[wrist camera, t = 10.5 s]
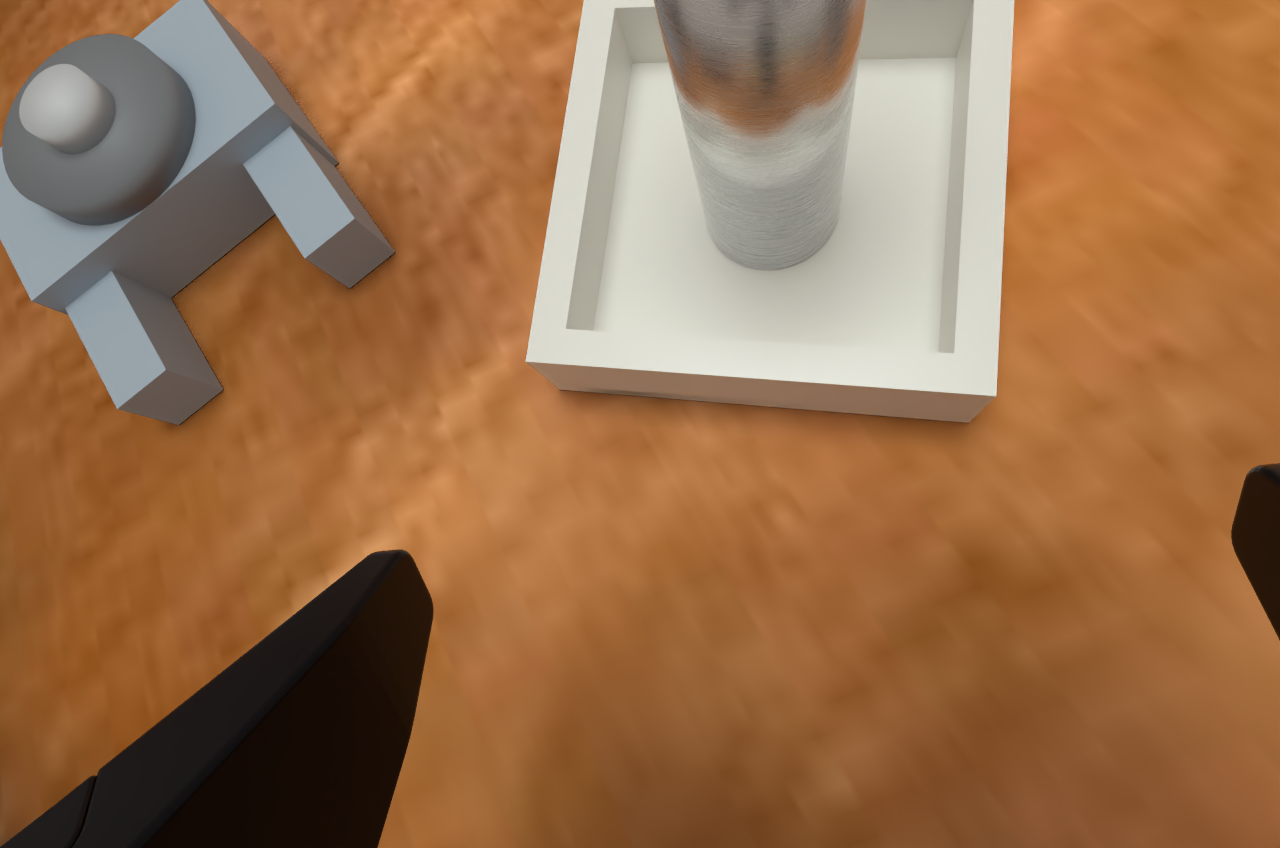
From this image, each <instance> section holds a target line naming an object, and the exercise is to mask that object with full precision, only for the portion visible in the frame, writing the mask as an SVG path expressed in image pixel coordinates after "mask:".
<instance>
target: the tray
mask: <svg viewBox="0 0 1280 848" xmlns="http://www.w3.org/2000/svg"><path fill="white" fill-rule="evenodd" d="M1013 18H1014V0H866V8H865V16H864V23H863V31H862V39H861V47H860V55H859V63H858V71H857V79H856V86H855V94H854V102H853V110H852V118H851V126H850V134H849V141H848V149H847V157H846V165H845V173H844V181H843V189H842V197H841V204H840V212H839V217H838V222H837V224H836V227H835V230H834V232H833V233H832V235H831V237H830V239H829V240H828V241H827V243H826V244H825V245H824V246H823V247H822V248H821V250H819V251H818V252H817V253H816V254H815V255H814V256H812V257H811V258H809V259H808V260H806V261H804V262H802V263H800V264H798V265H795V266H793V267H790V268H786V269H781V270H772V271H767V270H756V269H751V268H748V267H745V266H742V265H740V264H737V263H736V262H734V261H732V260H731V259H729V258H728V257H727V256H725V255H724V254H723V253H722V252H721V251H720V250H719V249H718V247H717V246H716V245H715V243H714V242H713V240H712V238H711V236H710V234H709V231H708V228H707V224H706V220H705V216H704V212H703V207H702V203H701V199H700V195H699V190H698V186H697V182H696V178H695V173H694V169H693V165H692V161H691V156H690V152H689V148H688V144H687V139H686V135H685V131H684V127H683V123H682V118H681V114H680V110H679V106H678V101H677V97H676V93H675V89H674V84H673V80H672V76H671V72H670V67H669V63H668V59H667V55H666V50H665V46H664V42H663V38H662V33H661V29H660V25H659V21H658V16H657V12H656V8H655V4H654V0H584V4H583V10H582V16H581V22H580V28H579V35H578V41H577V47H576V53H575V59H574V66H573V72H572V78H571V84H570V90H569V97H568V103H567V109H566V115H565V121H564V128H563V134H562V140H561V146H560V152H559V158H558V165H557V171H556V177H555V183H554V189H553V196H552V202H551V208H550V214H549V220H548V227H547V233H546V239H545V245H544V251H543V258H542V264H541V270H540V276H539V282H538V289H537V295H536V301H535V307H534V313H533V319H532V326H531V332H530V338H529V344H528V350H527V357H526V362H527V363H528V364H529V365H530V366H532V367H533V368H534V369H535V370H536V371H538V372H539V373H540V374H541V375H542V376H544V377H545V378H546V379H547V380H548V381H550V382H551V383H552V384H553V385H554V386H556V387H557V388H558V389H559V390H570V391H582V392H595V393H607V394H619V395H632V396H644V397H656V398H669V399H681V400H693V401H706V402H718V403H730V404H743V405H755V406H767V407H780V408H792V409H804V410H817V411H829V412H841V413H854V414H866V415H878V416H891V417H903V418H915V419H928V420H940V421H952V422H965V423H969V422H970V421H971V420H972V419H973V418H974V417H976V416H977V415H978V414H979V413H980V412H981V411H982V410H983V409H984V408H985V407H986V406H987V405H988V404H989V403H990V402H991V401H992V400H993V399H994V398H995V397H996V392H997V370H998V348H999V326H1000V304H1001V282H1002V260H1003V238H1004V216H1005V194H1006V172H1007V150H1008V128H1009V106H1010V84H1011V62H1012V40H1013Z"/></svg>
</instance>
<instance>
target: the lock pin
mask: <svg viewBox="0 0 1280 848" xmlns="http://www.w3.org/2000/svg"><path fill="white" fill-rule="evenodd" d="M654 4H655V8H656V12H657V16H658V21H659V25H660V29H661V33H662V38H663V42H664V46H665V50H666V55H667V59H668V63H669V67H670V72H671V76H672V80H673V84H674V89H675V93H676V97H677V101H678V106H679V110H680V114H681V118H682V123H683V127H684V131H685V135H686V139H687V144H688V148H689V152H690V156H691V161H692V165H693V169H694V173H695V178H696V182H697V186H698V190H699V195H700V199H701V203H702V207H703V212H704V216H705V220H706V224H707V228H708V231H709V234H710V236H711V238H712V240H713V242H714V243H715V245H716V246H717V247H718V249H719V250H720V251H721V252H722V253H723V254H724V255H725V256H727V257H728V258H729V259H731V260H732V261H734V262H736V263H737V264H740V265H742V266H745V267H748V268H751V269H756V270H767V271H772V270H781V269H786V268H790V267H793V266H795V265H798V264H800V263H802V262H804V261H806V260H808V259H809V258H811V257H812V256H814V255H815V254H816V253H817V252H818V251H819V250H821V248H822V247H823V246H824V245H825V244H826V243H827V241H828V240H829V239H830V237H831V235H832V233H833V232H834V230H835V227H836V224H837V222H838V217H839V212H840V204H841V197H842V189H843V181H844V173H845V165H846V157H847V149H848V141H849V134H850V126H851V118H852V110H853V102H854V94H855V86H856V79H857V71H858V63H859V55H860V47H861V39H862V31H863V23H864V16H865V8H866V0H654Z"/></svg>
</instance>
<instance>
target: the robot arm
mask: <svg viewBox="0 0 1280 848" xmlns="http://www.w3.org/2000/svg"><path fill="white" fill-rule="evenodd" d="M1231 538H1232V544H1233V547H1234V551H1235V553H1236V555H1237V557H1238V559H1239V561H1240V563H1241V565H1242V567H1243V569H1244V571H1245V573H1246V575H1247V577H1248V579H1249V581H1250V583H1251V585H1252V587H1253V589H1254V591H1255V593H1256V595H1257V597H1258V599H1259V600H1260V602H1261V604H1262V606H1263V608H1264V610H1265V612H1266V614H1267V616H1268V618H1269V620H1270V622H1271V624H1272V626H1273V628H1274V630H1275V632H1276V634H1277V636H1278V638H1279V640H1280V463H1278V464H1267V465H1259V466H1257V467H1254V468H1252V469H1251V470H1250V471H1249V472H1248V474H1247V475H1246V478H1245V480H1244V484H1243V488H1242V491H1241V495H1240V499H1239V503H1238V506H1237V510H1236V514H1235V518H1234V521H1233V525H1232V531H1231ZM432 621H433V603H432V599H431V596H430V594H429V591H428V589H427V587H426V585H425V583H424V581H423V579H422V577H421V574H420V572H419V570H418V568H417V566H416V564H415V562H414V559H413V558H412V556H411V555H410V554H409V553H408V552H407V551H405V550H389V551H379V552H374V553H372V554H370V555H368V556H367V557H366V558H365V559H363V560H362V561H361V562H360V563H358V564H357V565H356V566H355V567H353V568H352V569H351V570H350V571H348V572H347V573H346V574H345V575H343V576H342V577H341V578H340V579H338V580H337V581H336V582H334V583H333V584H332V585H331V586H329V587H328V588H327V589H326V590H324V591H323V592H322V593H321V594H319V595H318V596H317V597H316V598H314V599H313V600H312V601H311V602H309V603H308V604H307V605H306V606H304V607H303V608H302V609H301V610H299V611H298V612H297V613H296V614H294V615H293V616H292V617H290V618H289V619H288V620H287V621H285V622H284V623H283V624H282V625H280V626H279V627H278V628H277V629H275V630H274V631H273V632H272V633H270V634H269V635H268V636H267V637H265V638H264V639H263V640H262V641H260V642H259V643H258V644H257V645H255V646H254V647H253V648H252V649H250V650H249V651H248V652H246V653H245V654H244V655H243V656H241V657H240V658H239V659H238V660H236V661H235V662H234V663H233V664H231V665H230V666H229V667H228V668H226V669H225V670H224V671H223V672H221V673H220V674H219V675H218V676H216V677H215V678H214V679H213V680H211V681H210V682H209V683H208V684H206V685H205V686H204V687H202V688H201V689H200V690H199V691H197V692H196V693H195V694H194V695H192V696H191V697H190V698H189V699H187V700H186V701H185V702H184V703H182V704H181V705H180V706H179V707H177V708H176V709H175V710H174V711H172V712H171V713H170V714H169V715H167V716H166V717H165V718H164V719H162V720H161V721H160V722H158V723H157V724H156V725H155V726H153V727H152V728H151V729H150V730H148V731H147V732H146V733H145V734H143V735H142V736H141V737H140V738H138V739H137V740H136V741H135V742H133V743H132V744H131V745H130V746H128V747H127V748H126V749H125V750H123V751H122V752H121V753H120V754H118V755H117V756H116V757H114V758H113V759H112V760H111V761H109V762H108V763H107V764H106V765H104V766H103V767H102V768H101V769H100V770H99V772H98V774H97V776H91V777H89V778H88V779H87V780H85V781H84V782H83V783H82V784H80V785H79V786H78V787H77V788H75V789H74V790H73V791H72V792H70V793H69V794H68V795H67V796H65V797H64V798H63V799H62V800H60V801H59V802H58V803H57V804H55V805H54V806H53V807H52V808H50V809H49V810H48V811H46V812H45V813H44V814H42V815H41V816H40V817H39V818H37V819H36V820H35V821H33V822H32V823H31V824H30V825H28V826H27V827H26V828H24V829H23V830H22V831H21V832H19V833H18V834H17V835H15V836H14V837H13V838H11V839H10V840H9V841H8V842H6V843H5V844H4V845H2V846H1V847H0V848H377V847H378V844H379V841H380V837H381V834H382V831H383V827H384V824H385V821H386V817H387V814H388V811H389V807H390V804H391V800H392V797H393V794H394V790H395V787H396V784H397V780H398V777H399V774H400V770H401V767H402V764H403V760H404V757H405V754H406V750H407V746H408V743H409V739H410V735H411V731H412V726H413V722H414V717H415V712H416V707H417V701H418V696H419V691H420V685H421V680H422V674H423V669H424V664H425V658H426V653H427V648H428V642H429V637H430V632H431V626H432Z"/></svg>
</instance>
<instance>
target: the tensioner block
mask: <svg viewBox="0 0 1280 848" xmlns="http://www.w3.org/2000/svg"><path fill="white" fill-rule="evenodd" d="M338 163H339V162H338V161H337V159H336V158H335V157H334V155H333V154H332V152H331V151H330V149H329V148H328V147H327V145H326V144H325V142H324V141H323V140H322V138H321V137H320V135H319V134H318V133H317V131H316V130H315V128H314V127H313V126H312V124H311V123H310V121H309V120H308V118H307V117H306V116H305V114H304V113H303V111H302V110H301V109H300V107H299V106H298V104H297V103H296V102H295V100H294V99H293V97H292V96H291V95H290V93H289V92H288V90H287V89H286V87H285V86H284V85H283V83H282V82H281V80H280V79H279V78H278V76H277V75H276V73H275V72H274V71H273V69H272V68H271V66H270V65H269V64H268V62H267V61H266V59H265V58H264V57H263V56H262V55H261V54H260V53H259V52H258V51H257V50H256V49H255V48H254V47H253V46H252V45H251V44H250V43H249V42H248V41H247V40H246V39H245V38H244V37H243V36H242V35H241V34H240V33H239V32H238V31H237V30H236V29H235V28H234V27H233V26H232V25H231V24H230V23H229V22H228V21H227V20H226V19H225V18H224V17H223V16H222V15H221V14H220V13H219V12H218V11H217V10H216V9H215V8H214V7H213V6H212V5H211V4H210V3H209V2H208V1H207V0H180V1H179V2H178V3H176V4H175V5H174V6H173V7H171V8H170V9H169V10H168V11H167V12H165V13H164V14H163V15H162V16H161V17H159V18H158V19H157V20H156V21H154V22H153V23H152V24H151V25H150V26H148V27H147V28H146V29H145V30H143V31H142V32H141V33H140V34H139V35H137V36H136V37H135V38H134V39H132V38H130V37H127V36H122V35H116V34H102V35H95V36H90V37H87V38H84V39H81V40H78V41H75V42H73V43H71V44H69V45H67V46H65V47H64V48H62V49H60V50H59V51H57V52H56V53H54V54H53V55H52V56H50V57H49V58H48V59H47V60H45V61H44V62H43V63H42V64H41V65H40V66H39V67H38V68H37V69H36V70H35V71H34V72H33V73H32V74H31V76H30V77H29V78H28V79H27V81H26V82H25V83H24V85H23V86H22V88H21V89H20V91H19V93H18V94H17V96H16V98H15V100H14V102H13V104H12V106H11V108H10V111H9V113H8V116H7V119H6V123H5V127H4V132H3V139H2V147H1V148H0V239H1V241H2V243H3V245H4V247H5V249H6V251H7V253H8V255H9V257H10V259H11V261H12V263H13V265H14V267H15V269H16V271H17V273H18V275H19V277H20V279H21V281H22V283H23V285H24V287H25V289H26V291H27V293H28V295H29V297H30V299H31V301H33V302H35V303H38V304H41V305H43V306H46V307H49V308H51V309H54V310H57V311H59V312H62V313H65V314H67V315H69V317H70V319H71V321H72V322H73V324H74V326H75V328H76V330H77V332H78V334H79V336H80V338H81V340H82V342H83V344H84V346H85V348H86V350H87V351H88V353H89V355H90V357H91V359H92V361H93V363H94V365H95V367H96V369H97V371H98V373H99V375H100V377H101V379H102V381H103V382H104V384H105V386H106V388H107V390H108V392H109V394H110V396H111V398H112V400H113V402H114V404H115V406H116V408H117V409H119V410H123V411H127V412H131V413H134V414H138V415H142V416H146V417H149V418H153V419H157V420H161V421H165V422H168V423H172V424H176V425H180V424H181V423H182V422H183V421H185V420H186V419H187V418H188V417H190V416H191V415H192V414H193V413H195V412H196V411H197V410H198V409H200V408H201V407H202V406H203V405H205V404H206V403H207V402H208V401H210V400H211V399H212V398H213V397H215V396H216V395H217V394H218V393H220V392H221V391H222V390H223V388H222V386H221V384H220V383H219V381H218V379H217V377H216V376H215V374H214V372H213V371H212V369H211V367H210V365H209V364H208V362H207V360H206V358H205V357H204V355H203V353H202V351H201V350H200V348H199V346H198V344H197V343H196V341H195V339H194V337H193V336H192V334H191V332H190V330H189V329H188V327H187V325H186V324H185V322H184V320H183V318H182V317H181V315H180V313H179V311H178V310H177V308H176V306H175V304H174V303H173V301H172V299H171V298H172V297H173V296H174V295H175V294H176V293H178V292H179V291H180V290H181V289H183V288H184V287H185V286H186V285H188V284H189V283H190V282H191V281H193V280H194V279H195V278H196V277H198V276H199V275H200V274H201V273H203V272H204V271H205V270H206V269H207V268H209V267H210V266H211V265H212V264H214V263H215V262H216V261H217V260H219V259H220V258H221V257H222V256H224V255H225V254H226V253H227V252H229V251H230V250H231V249H232V248H234V247H235V246H236V245H237V244H238V243H240V242H241V241H242V240H243V239H245V238H246V237H247V236H248V235H250V234H251V233H252V232H253V231H255V230H256V229H257V228H258V227H260V226H261V225H262V224H263V223H265V222H266V221H267V220H268V219H269V218H271V217H272V216H273V215H274V214H276V215H277V217H278V218H279V220H280V222H281V223H282V225H283V226H284V228H285V229H286V231H287V232H288V234H289V235H290V237H291V238H292V240H293V241H294V243H295V244H296V246H297V247H298V249H299V251H300V252H301V254H302V255H303V257H304V258H305V259H306V260H308V261H309V262H311V263H312V264H314V265H315V266H317V267H318V268H320V269H321V270H323V271H324V272H326V273H327V274H329V275H330V276H332V277H333V278H335V279H336V280H338V281H339V282H341V283H342V284H344V285H345V286H347V287H348V288H351V287H352V286H353V285H355V284H356V283H357V282H358V281H360V280H361V279H362V278H363V277H365V276H366V275H367V274H368V273H370V272H371V271H372V270H373V269H375V268H376V267H377V266H378V265H380V264H381V263H382V262H383V261H385V260H386V259H387V258H389V257H390V256H391V255H392V254H394V253H395V251H394V250H393V248H392V247H391V245H390V244H389V243H388V241H387V240H386V238H385V237H384V236H383V234H382V233H381V231H380V230H379V228H378V227H377V226H376V224H375V223H374V221H373V220H372V219H371V217H370V216H369V214H368V213H367V211H366V210H365V209H364V207H363V206H362V204H361V203H360V202H359V200H358V199H357V197H356V196H355V194H354V193H353V192H352V190H351V189H350V187H349V186H348V185H347V183H346V182H345V180H344V179H343V177H342V176H341V175H340V173H339V172H338V170H337V169H336V168H335V165H336V164H338Z"/></svg>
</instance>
